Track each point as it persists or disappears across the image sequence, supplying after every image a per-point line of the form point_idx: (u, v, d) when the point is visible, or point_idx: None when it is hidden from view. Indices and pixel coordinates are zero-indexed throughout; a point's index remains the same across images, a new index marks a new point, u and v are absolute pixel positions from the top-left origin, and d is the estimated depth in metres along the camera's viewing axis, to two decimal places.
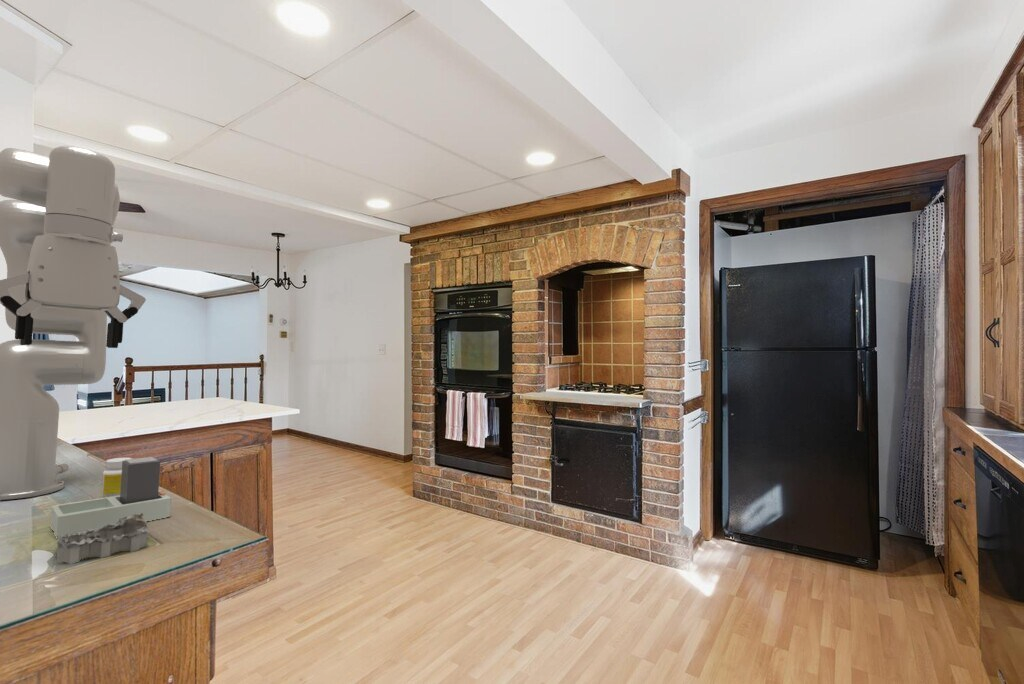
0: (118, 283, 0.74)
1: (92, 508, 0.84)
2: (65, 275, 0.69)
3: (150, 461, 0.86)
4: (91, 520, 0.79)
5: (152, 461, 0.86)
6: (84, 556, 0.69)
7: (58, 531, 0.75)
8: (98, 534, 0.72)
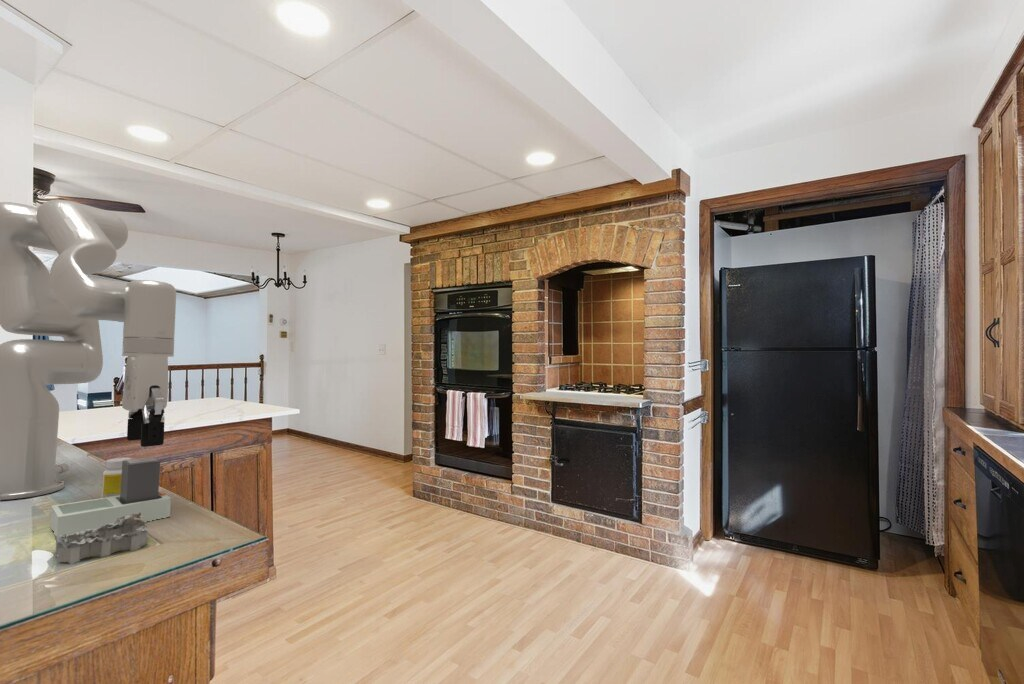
0: None
1: (92, 508, 0.84)
2: None
3: (150, 461, 0.86)
4: (91, 520, 0.79)
5: (152, 461, 0.86)
6: (84, 556, 0.69)
7: (58, 531, 0.75)
8: (97, 534, 0.72)
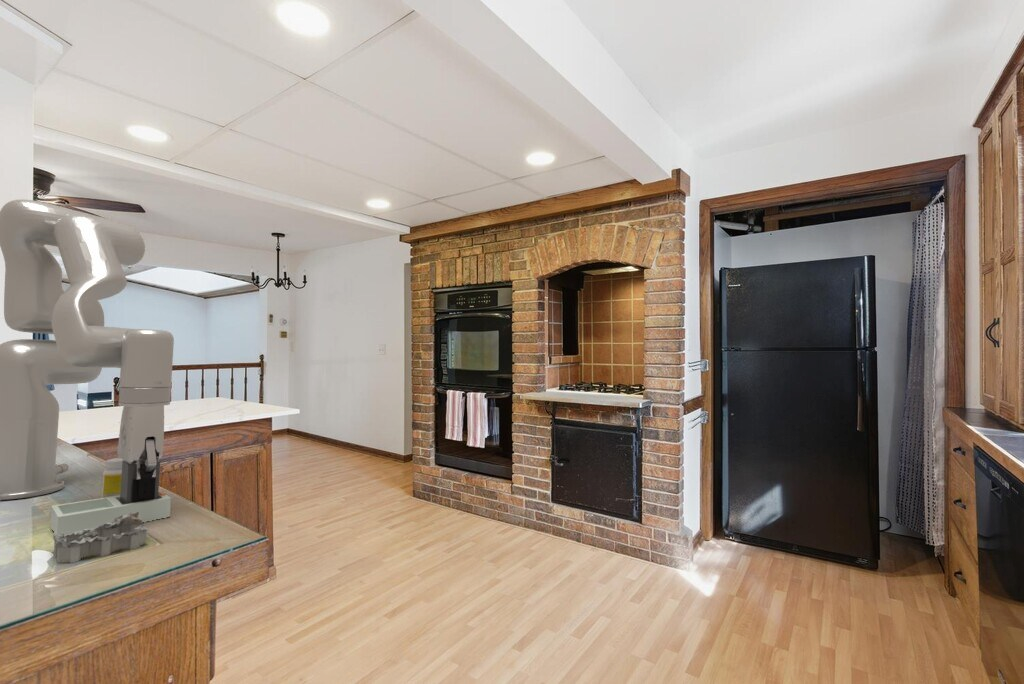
0: None
1: (92, 508, 0.84)
2: None
3: None
4: (91, 520, 0.79)
5: None
6: (84, 555, 0.69)
7: (58, 531, 0.75)
8: (96, 533, 0.72)
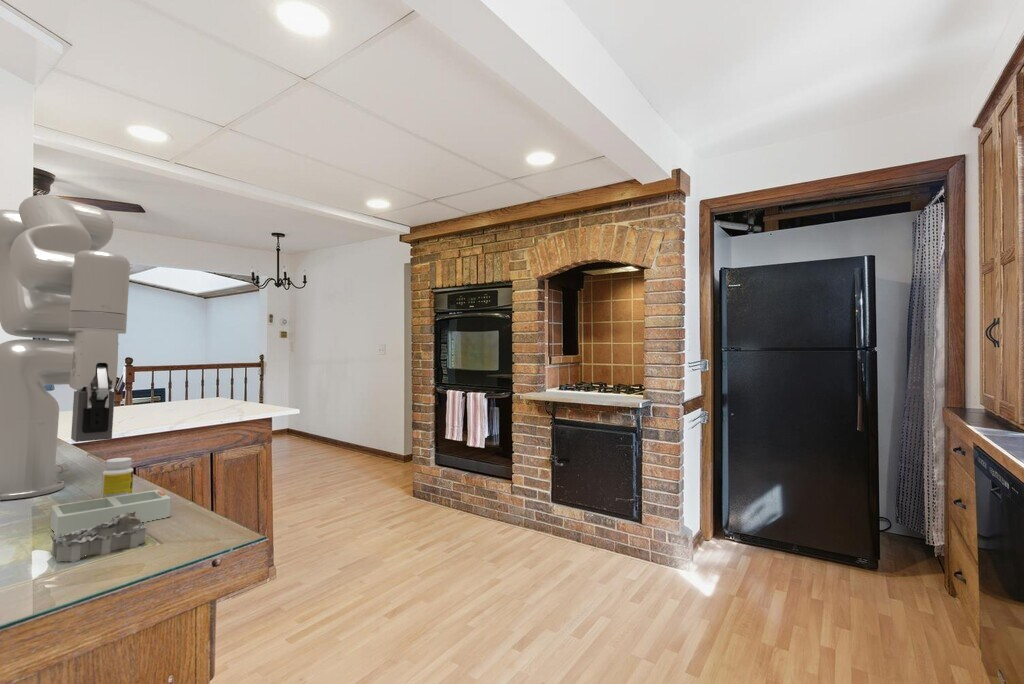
0: None
1: (92, 508, 0.84)
2: None
3: None
4: (91, 520, 0.79)
5: None
6: (84, 554, 0.70)
7: (58, 531, 0.75)
8: (95, 532, 0.72)
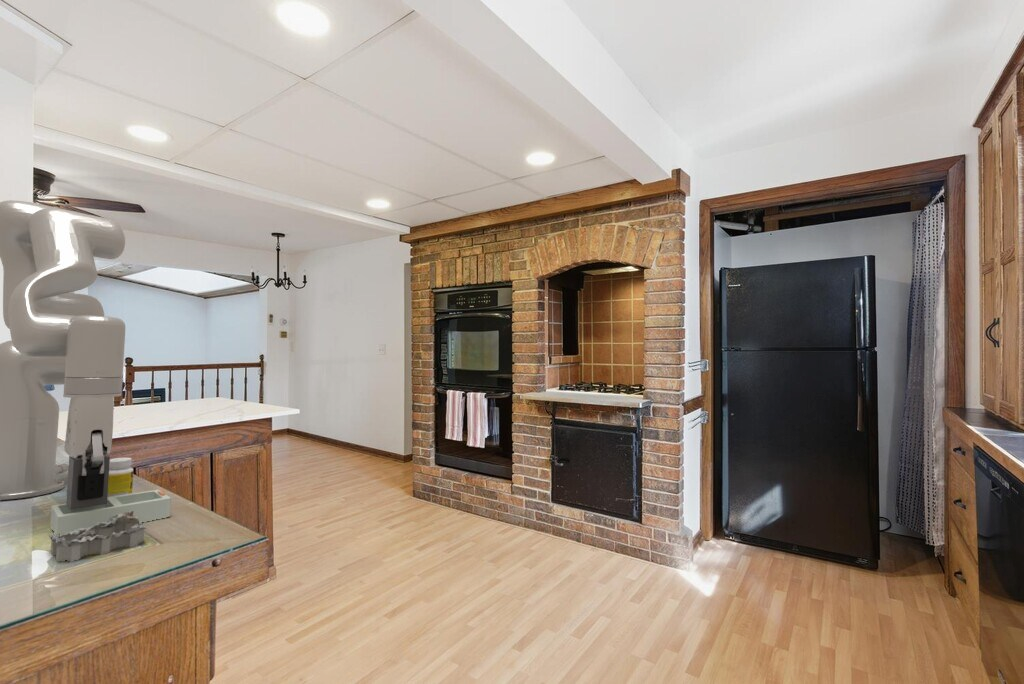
0: None
1: (92, 508, 0.84)
2: None
3: None
4: (91, 520, 0.79)
5: None
6: (83, 554, 0.70)
7: (58, 531, 0.75)
8: (94, 532, 0.72)
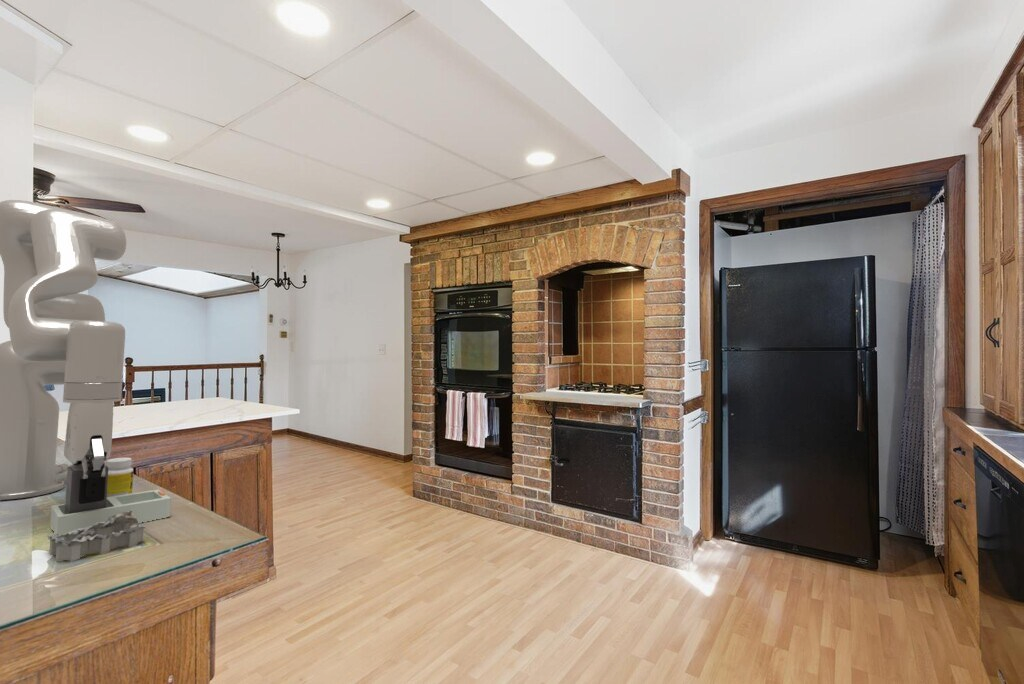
0: None
1: None
2: None
3: None
4: (91, 520, 0.79)
5: None
6: (83, 553, 0.70)
7: (58, 531, 0.75)
8: (93, 532, 0.72)
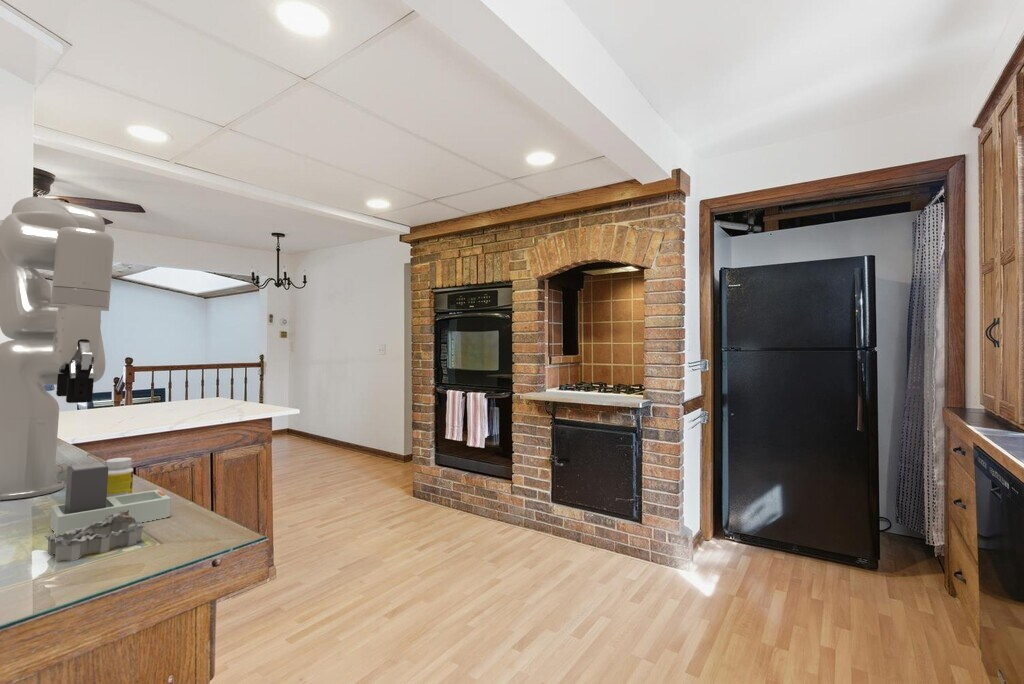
0: None
1: None
2: None
3: (97, 467, 0.81)
4: (91, 520, 0.79)
5: (99, 467, 0.81)
6: (83, 553, 0.70)
7: (58, 531, 0.75)
8: (92, 531, 0.73)
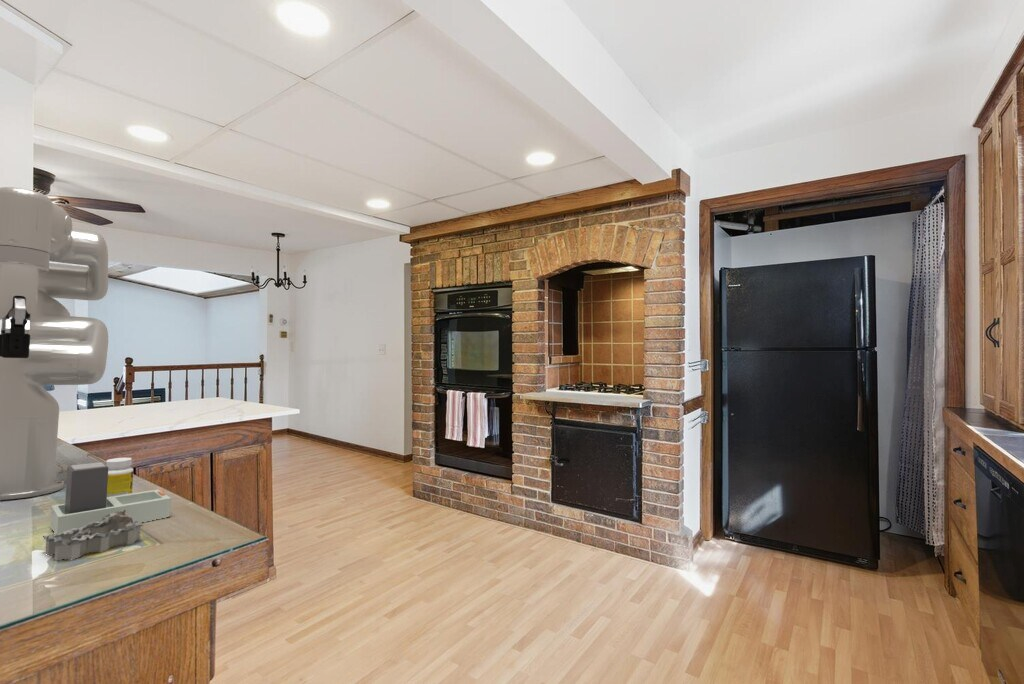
0: None
1: None
2: None
3: (97, 467, 0.81)
4: (91, 520, 0.79)
5: (99, 467, 0.81)
6: (82, 552, 0.70)
7: (58, 531, 0.75)
8: (90, 531, 0.73)
